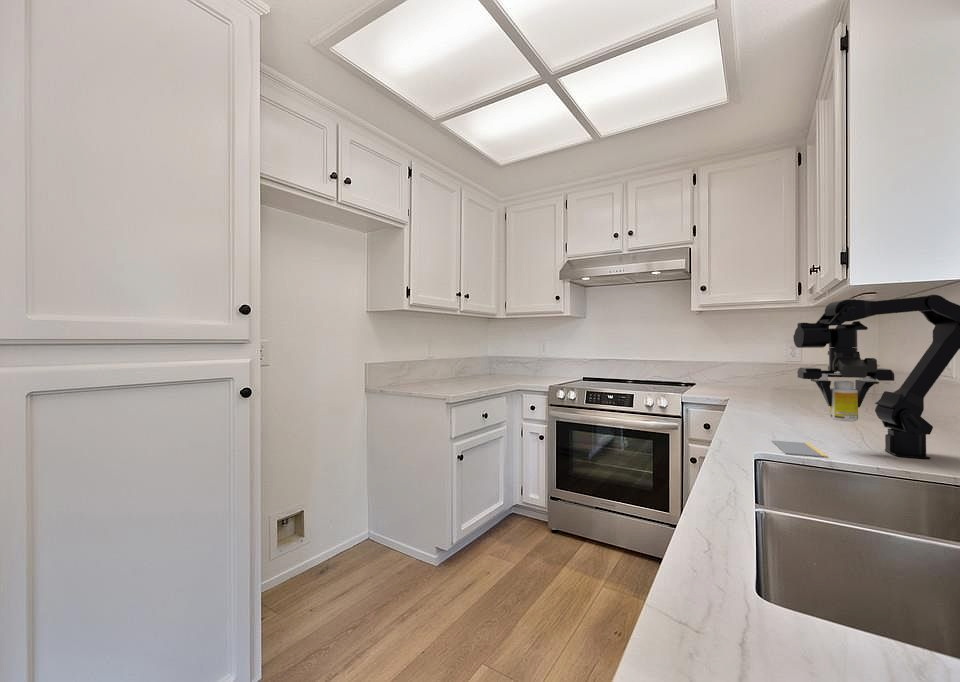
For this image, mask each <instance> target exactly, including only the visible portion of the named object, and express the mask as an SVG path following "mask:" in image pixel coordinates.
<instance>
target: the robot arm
mask: <svg viewBox="0 0 960 682" xmlns="http://www.w3.org/2000/svg"><path fill="white" fill-rule="evenodd" d="M911 312H919V313H921V314H922V315H923V316H924V318H925V319H926V320H927V321H928V322H929V323H931V324H932V325H934V328H933V330H932V342H931V344H930V346H928V348H927V350H926V351H925V352H924V353H923V355H922V356H921V358H920V359H919V360H918V361H917V364H915V366H914V367H913V369H912V371H911V372H910V373H909V374H908V376H907V377H906V378H905V380H904V382H903V383H902V384H901V386H900V387H899V388H898V389H897V390H895V391H889V390H888V391H887V390H886V391H884V392H883V393H882V394H881V397H880V398H879V400H877V401H876V402H874V405H876V406H875V408H874V412H875V414H876V417H877V418H878V419H880V421H881V422H882V424H883V427H884V428H887V434H885V435H884V438H885V441H884V443H885V448H884V451H885V452H888V453H889V454H891V455H893V456H895V457H903V458H916V459H918V458H919V459H931V456H929V455H927V435H931V433H932V431H933V429H934V426H933V425H932V424H930V423H929V422H928V421H927V420H925V418H923V417H922V415H923V414H924V413H923V412H924V410H925V403H924V402H925V400H924V399H925V397H926V396H927V394H928V393H929V391H930V390H931V388H932V387H933V386H934V385H935V383H936V382H937V380H938V378H940V377H941V374H942V373H943V372H944V371H945V369H946V368H947V367H948V365H949V364H950V362H951V361H952V360H953V358H954V357H955V356H956V354H957V352H958V351H960V304H957V303H955V302H952V301H950V300H948V299H946V298H945V297H943V296H941V295H939V294H928V295H921V296H915V297H904V298H894V299H884V300H868V299H867V300H865V299H853V298H852V299H848V298H847V299H842V300H835V301H832V302H829V303H828V304H827V305H826V306H825V309H824V313H823V314H822V315H821V316H820V318H818V320H816V322H812V323H809V322H798V323H797V327H796V329H795V330H794V334H793V335H792V336H793V343H794V346H795V347H796V348H798V349H801V348H802V349H805V348H807V349H810V348H811V349H812V348H813V349H814V348H816V349H817V348H818V349H819V348H820V349H824V348H825V347H827V345H828V350H827V355H828V366H827V370H823V369H821V368H819V367H799V368H797V378H799V379H803V380H810V382H814V383H815V384H816V385H817V387H818V388H819V390H820V391H821V394H822V395H823V398H824V399H825V402H826V404H827V406H828V407H830V406H831V405H832V399H831V390H830V389H831V384H832V380H829V378H857V379H855V383H854V384H855V385H854V386H855V387H854V389H856V390H857V391H858V408H861V405H862V403H863V402H864V399H865V397H866V395H867V394H868V392H869V390H870V389H871V388H872V387H873V386H874V385H879V384H880V382H879V381H883V382H885V381H886V382H887V381H888V382H892V381H893V382H894V381H895V373H894V371H893V370H892V369H888V368H878V360H877V358H876V357H865V358H864V359H861V354H860V351H858V331H867V330H868V329H869V328H868V327H867V326H866V325H865V324H863V323H862V322H861V321H860V320H863V319H867V318H869V317H874V316H878V315H886V314H887V315H888V314H900V313H911ZM847 322H851V323H847ZM831 326H833V327H834V326H836V327H835V328H830V327H831ZM877 380H878V381H877Z"/></svg>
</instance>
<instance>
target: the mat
mask: <svg viewBox="0 0 960 682" xmlns="http://www.w3.org/2000/svg"><path fill="white" fill-rule="evenodd" d="M771 443H772V444H774V445H775V446H776V447H777V448H778V449H780V450H781V452H782V453H784V455H791V456H803V457H817V458H828V457H829V456H828V454H826V453H824V452H823V451H821V450H820V449H818V448H817V447H816V446H814V445H813V444H811V443H810V442H807V441H806V442H798V441H797V442H796V441H787V440H786V441H784V440H783V441H782V440H771Z"/></svg>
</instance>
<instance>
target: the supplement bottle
mask: <svg viewBox="0 0 960 682" xmlns="http://www.w3.org/2000/svg"><path fill="white" fill-rule="evenodd" d="M854 384H855V383H854V381H851V380H834V381H833V387H832V388H831V387H830V390H831V399H832V405H831V406H829V407H830V408H829V409H830V411H829V413H830V414H829V415H830V419H832V420H834V421H839V422H857V421H858V420H859V407H858V391H857V390H856V389H855V387H854V386H855V385H854Z"/></svg>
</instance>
